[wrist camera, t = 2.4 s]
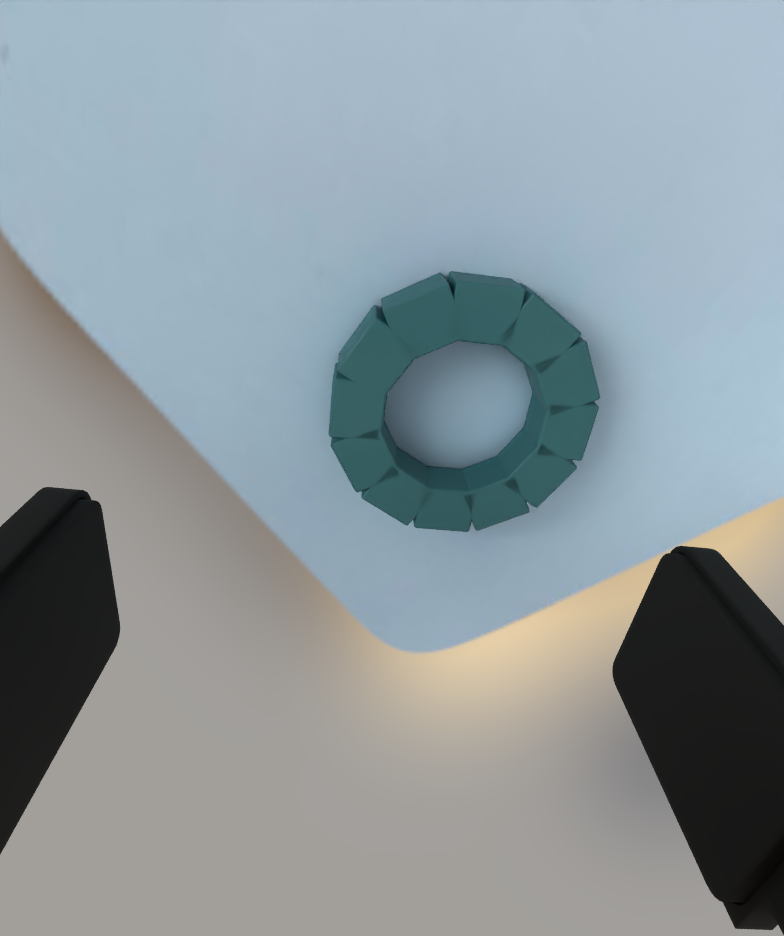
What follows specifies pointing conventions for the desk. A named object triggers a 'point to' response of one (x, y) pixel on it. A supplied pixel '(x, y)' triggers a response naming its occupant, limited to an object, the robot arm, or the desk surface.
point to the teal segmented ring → (427, 329)
